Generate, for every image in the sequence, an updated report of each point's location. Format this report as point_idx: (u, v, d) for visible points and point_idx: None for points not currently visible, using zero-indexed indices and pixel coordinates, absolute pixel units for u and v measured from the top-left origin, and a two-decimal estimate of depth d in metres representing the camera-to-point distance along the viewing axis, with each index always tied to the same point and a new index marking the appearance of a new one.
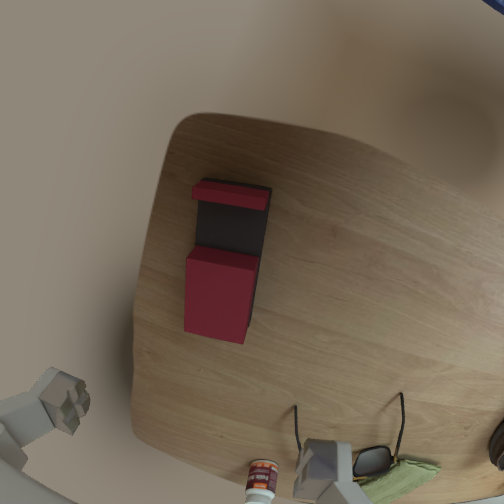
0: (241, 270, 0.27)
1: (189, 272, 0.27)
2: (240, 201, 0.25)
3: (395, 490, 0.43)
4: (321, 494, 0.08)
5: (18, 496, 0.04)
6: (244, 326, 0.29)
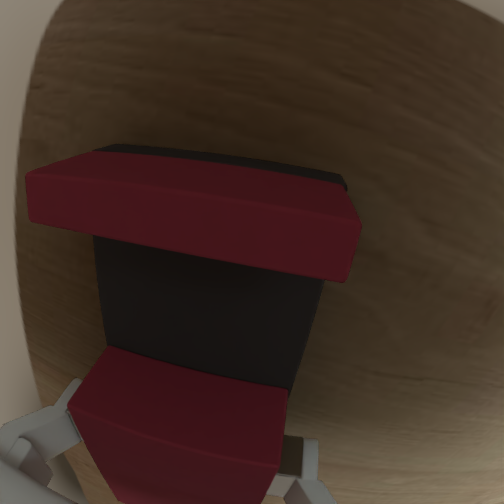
0: (234, 462, 0.07)
1: (86, 434, 0.07)
2: (222, 235, 0.05)
3: None
4: (288, 491, 0.08)
5: (18, 496, 0.04)
6: None
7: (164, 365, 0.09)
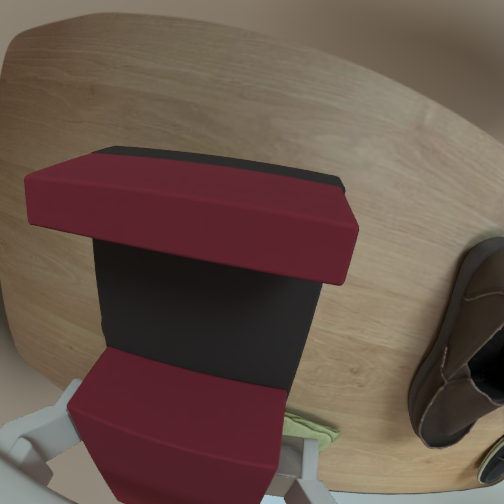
0: (232, 463, 0.07)
1: (85, 434, 0.07)
2: (220, 238, 0.05)
3: None
4: (288, 491, 0.08)
5: (18, 496, 0.04)
6: None
7: (163, 366, 0.09)
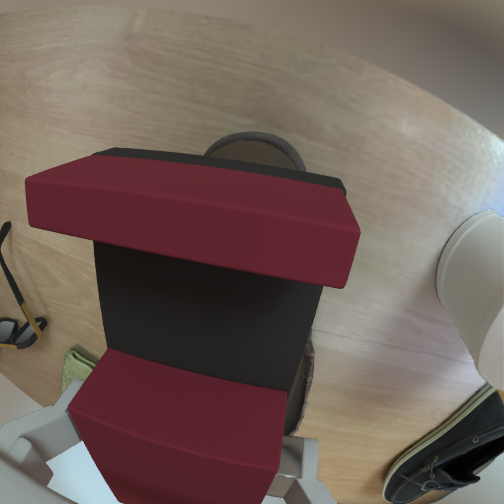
0: (233, 464, 0.07)
1: (86, 436, 0.07)
2: (221, 242, 0.05)
3: None
4: (288, 491, 0.08)
5: (18, 496, 0.04)
6: None
7: (164, 368, 0.09)
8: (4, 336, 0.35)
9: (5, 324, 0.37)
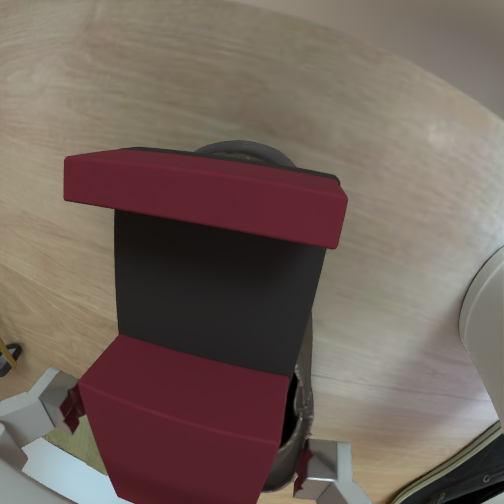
0: (236, 438, 0.07)
1: (93, 415, 0.08)
2: (234, 207, 0.06)
3: (84, 445, 0.32)
4: (321, 494, 0.08)
5: (18, 496, 0.04)
6: None
7: (172, 352, 0.10)
8: None
9: None
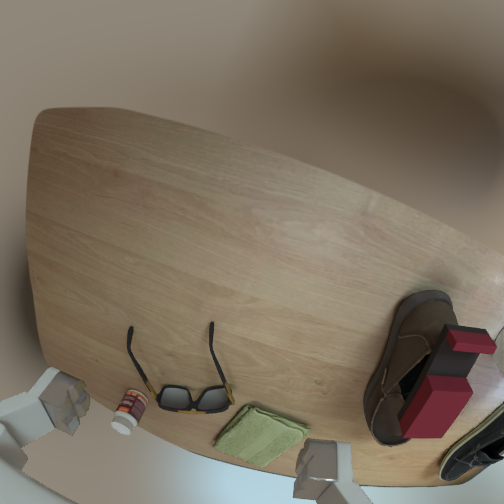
0: (466, 393, 0.27)
1: (430, 399, 0.28)
2: (482, 350, 0.25)
3: (263, 446, 0.52)
4: (321, 494, 0.08)
5: (18, 496, 0.04)
6: (449, 426, 0.29)
7: (442, 376, 0.30)
8: (175, 402, 0.50)
9: (171, 390, 0.52)
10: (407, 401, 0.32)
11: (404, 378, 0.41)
